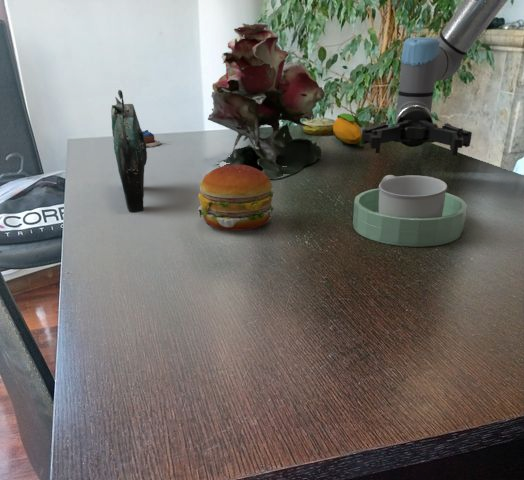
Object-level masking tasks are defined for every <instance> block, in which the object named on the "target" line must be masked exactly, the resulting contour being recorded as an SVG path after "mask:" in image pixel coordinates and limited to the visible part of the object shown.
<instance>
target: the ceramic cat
mask: <svg viewBox="0 0 524 480" xmlns="http://www.w3.org/2000/svg"><path fill="white" fill-rule="evenodd" d="M117 95H118V97H119V98H118V97H116V96H114V98H115V101H116V104H111V109H110V113H111V115H110V118H111V130H112V131H111V133H112V137H113V150H114V154H115V159H116V164H117V171H118V174H119V178H120V182H121V186H122V191H123V195H124V199H125V204H126V209H127V211H128V212H130V213H132V212H143V211H144V209H145V208H144V207H145V206H144V195H145V193H144V191H145V190H144V188H145V187H144V186H145V183H144V182H145V166H146V164H147V162H148V161H147V159H148V151H147V148H148V147H147V146H146V142H145V139H144V135H143V132H142V131H143V130H142V128H141V125H140V122H139V118H138V116H137V113H136V109H135V106H134V104H133V103H125V101H124V95H123V91H122V90H121V89H118V91H117Z"/></svg>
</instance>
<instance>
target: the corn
mask: <svg viewBox="0 0 524 480" xmlns="http://www.w3.org/2000/svg"><path fill="white" fill-rule="evenodd" d="M362 128H363V126H362V123H361V120H360V119H359V118H358V117H357V116H356V115H354V114H353V115H352V114H350V113H346V112H345V113H344V112H343V113H340V114H338V115H337V117H336V119H335V122H334V124H333V133H332V134H333V136H334V137H335V138H336V140H337V141H338V142H339V143H341V144H342V145H346V144H349V145H351V144H354V145H355V146H356V145H357V146H358V147H362V146H364V145H365V144H362V143H361V142H362V131H361V129H362ZM345 143H346V144H345Z"/></svg>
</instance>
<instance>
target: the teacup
mask: <svg viewBox="0 0 524 480" xmlns="http://www.w3.org/2000/svg"><path fill="white" fill-rule="evenodd" d="M378 188H379V213H380V214H384V215H389V216H396V217H402V218H436V217H442V214H443V209H444V202H445V194H446V193H447V190H448V185H447V183H446V182H445V181H444V180H441V179H439V178H436V177H432V176H428V175H415V174H413V175H412V174H411V175H399V176H398V175H397V176H395V175H393V174H388V175H385V176H383V178H382V179H381V182H380V183H378Z"/></svg>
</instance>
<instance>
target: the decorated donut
mask: <svg viewBox="0 0 524 480" xmlns="http://www.w3.org/2000/svg"><path fill="white" fill-rule="evenodd" d="M335 120H336V119H335ZM335 120H334V119H333V118H328V117H315V118H314V117H313V118H311V120H308V119H305V120H303V121H301V123H303V124H306V125H308V126H310V127H312V128H310V127H308V126H304V127H303V126H301V127H302V131H304V133H306V134H308V135H313V136H324V135H327V136H328V135H332V134H333V124H334V122H335Z"/></svg>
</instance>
